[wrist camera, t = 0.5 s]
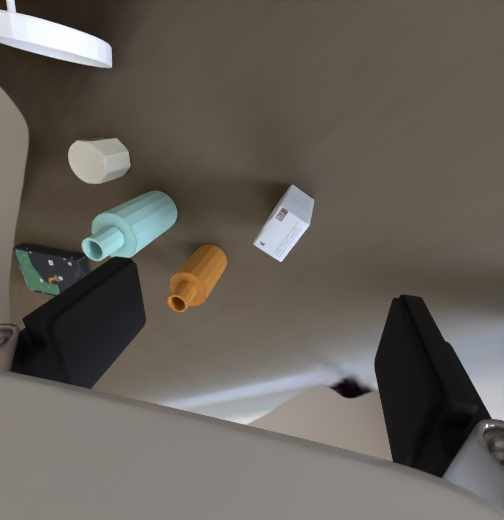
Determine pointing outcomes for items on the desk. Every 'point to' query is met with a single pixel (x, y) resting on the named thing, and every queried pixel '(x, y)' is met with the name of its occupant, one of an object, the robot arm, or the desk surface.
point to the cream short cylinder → (99, 159)
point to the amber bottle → (196, 277)
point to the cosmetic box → (285, 223)
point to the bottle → (130, 226)
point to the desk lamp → (52, 39)
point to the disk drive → (50, 268)
